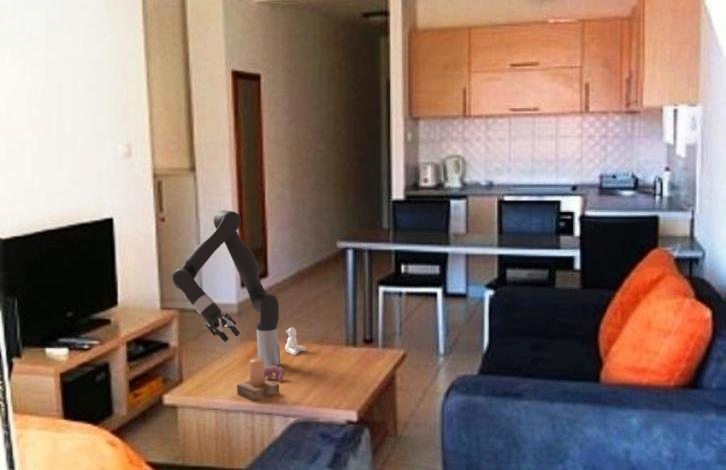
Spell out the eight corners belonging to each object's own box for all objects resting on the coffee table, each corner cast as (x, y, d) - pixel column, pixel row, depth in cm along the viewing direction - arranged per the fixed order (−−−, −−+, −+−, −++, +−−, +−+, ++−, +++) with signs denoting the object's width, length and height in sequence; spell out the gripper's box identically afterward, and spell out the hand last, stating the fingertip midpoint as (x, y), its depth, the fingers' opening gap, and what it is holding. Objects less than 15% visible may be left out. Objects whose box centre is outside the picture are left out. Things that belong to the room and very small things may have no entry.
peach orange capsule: (261, 381, 306) (260, 357, 305) (267, 384, 301) (266, 360, 300) (247, 383, 303) (246, 359, 301) (254, 387, 298) (252, 363, 297)
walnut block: (261, 387, 311) (261, 377, 310) (279, 393, 302) (278, 384, 302) (237, 394, 303) (237, 384, 302) (254, 401, 294) (254, 391, 294)
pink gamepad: (284, 383, 319) (286, 367, 321) (280, 382, 315) (283, 365, 317) (263, 381, 322) (265, 365, 324) (259, 380, 318) (261, 363, 320)
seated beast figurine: (294, 356, 354) (294, 331, 352) (280, 353, 358) (279, 329, 357) (306, 350, 362) (305, 326, 360) (291, 348, 366) (291, 324, 365)
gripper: (202, 306, 298) (228, 336, 296) (222, 298, 311) (247, 327, 309) (192, 318, 301) (218, 348, 298) (211, 310, 314) (236, 338, 311)
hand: (232, 337), depth 304 cm, fingers open, 8 cm apart
